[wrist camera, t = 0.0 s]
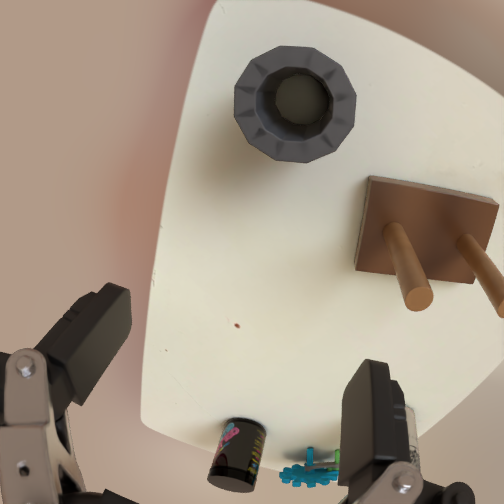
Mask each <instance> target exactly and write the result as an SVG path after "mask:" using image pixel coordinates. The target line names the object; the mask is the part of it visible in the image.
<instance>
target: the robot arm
mask: <svg viewBox="0 0 504 504" xmlns="http://www.w3.org/2000/svg"><path fill="white" fill-rule="evenodd" d="M131 325H132V316H131V296H130V291H129V289H126V288H124V287H121V286H118V285H116V284H113V283H107V284H105V285H104V286H103V288H102V289H101V290H100V291H99V292H98V293H94V292H90V293H88V294H86V295H84V296H83V297H81V298H79V299H78V300H77V301H76V302H75V303H74V304H73V305H72V306H71V308H70V310H68V311H67V312H66V313H65V314H64V315H63V317H62V318H61V319H59V321H58V322H57V323H56V324H55V325H54V326H53V327H52V328H51V330H50V331H49V332H48V333H47V334H46V335H45V336H44V337H43V339H42V340H41V341H40V342H39V343H38V344H37V345H36V346H35V348H33V349H31V348H24V349H20V350H18V351H16V352H14V353H13V354H7V353H3V352H0V486H1V493H2V499H3V504H139V503H136V502H134V501H132V500H129V499H127V498H125V497H122V496H120V495H118V494H115V493H114V492H111V491H109V490H107V489H105V490H104V492H103V494H101V493H96V492H86V488H85V484H84V481H83V478H82V474H81V471H80V469H79V466H78V464H77V462H76V458H75V453H74V448H73V443H72V437H71V431H70V425H69V418H68V411H67V407H68V406H69V404H70V403H71V401H73V402H75V403H76V404H78V405H80V406H82V405H83V404H84V402H85V401H86V399H87V397H88V396H89V394H90V393H91V391H92V390H93V388H94V386H95V385H96V383H97V382H98V380H99V379H100V377H101V376H102V374H103V373H104V371H105V370H106V368H107V367H108V365H109V364H110V362H111V361H112V359H113V358H114V356H115V355H116V353H117V352H118V350H119V349H120V347H121V346H122V344H123V343H124V342H125V340H126V339H127V337H128V335H129V333H130V330H131ZM406 418H407V416H406V410H405V400H404V393H403V391H402V390H401V388H400V386H399V384H398V382H397V381H395V380H391V379H390V371H389V366H388V364H387V363H384V362H379V361H374V360H370V359H365V360H364V361H363V362H362V364H361V365H360V367H359V368H358V370H357V371H356V373H355V374H354V376H353V377H352V379H351V380H350V382H349V383H348V385H347V386H346V389H345V391H344V394H343V399H342V421H341V443H340V460H339V474H338V486H348V487H349V490H348V495H346V496H345V497H344V498H343V499H342V500H341V501H340V502H339V503H338V504H475V496H474V493H473V491H472V489H471V488H470V487H469V486H468V485H467V484H465V483H463V482H455V483H452V484H451V485H449V486H447V487H446V488H445V487H442V486H439V485H436V484H433V483H431V482H428V481H426V480H424V479H423V478H422V475H421V473H420V471H419V470H418V468H417V467H416V466H414V465H413V464H411V458H410V446H409V435H408V425H407V421H406Z"/></svg>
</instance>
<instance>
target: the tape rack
mask: <svg viewBox="0 0 504 504" xmlns="http://www.w3.org/2000/svg"><path fill="white" fill-rule="evenodd" d="M498 209H499V204H498V203H497V202H495V201H494V200H493V199H490V198H486V197H482V196H478V195H473V194H469V193H464V192H460V191H455V190H450V189H445V188H440V187H435V186H430V185H425V184H419V183H414V182H408V181H402V180H396V179H390V178H384V177H377V176H369V182H368V189H367V195H366V201H365V207H364V213H363V219H362V225H361V230H360V235H359V241H358V246H357V251H356V256H355V261H354V263H355V270H356V271H364V272H372V273H381V274H389V275H396V276H397V279H398V282H399V285H400V288H401V292H402V295H403V298H404V302H405V305H406V307H407V308H408V309H409V310H411V311H422V310H424V309H426V308H427V307H429V306H430V304H431V303H432V301H433V292H432V289H431V287H430V285H429V282H428V280H427V279H432V280H441V281H449V282H458V283H467V284H473V283H474V280H475V278H477V280H478V281H479V283H480V285H481V286H482V288H483V290H484V291H485V293H486V295H487V296H488V298H489V300H490V302H491V303H492V305H493V307H494V309H495V310H496V312H497V314H498V316H499V317H501V318H504V277H503V276H502V274H501V273H500V271H499V270H498V269H497V267H496V266H495V265H494V263H493V262H492V261H491V259H490V258H489V257H488V255H487V254H486V253H485V251H486V248H487V245H488V242H489V239H490V236H491V233H492V229H493V226H494V223H495V219H496V216H497V212H498Z"/></svg>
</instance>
